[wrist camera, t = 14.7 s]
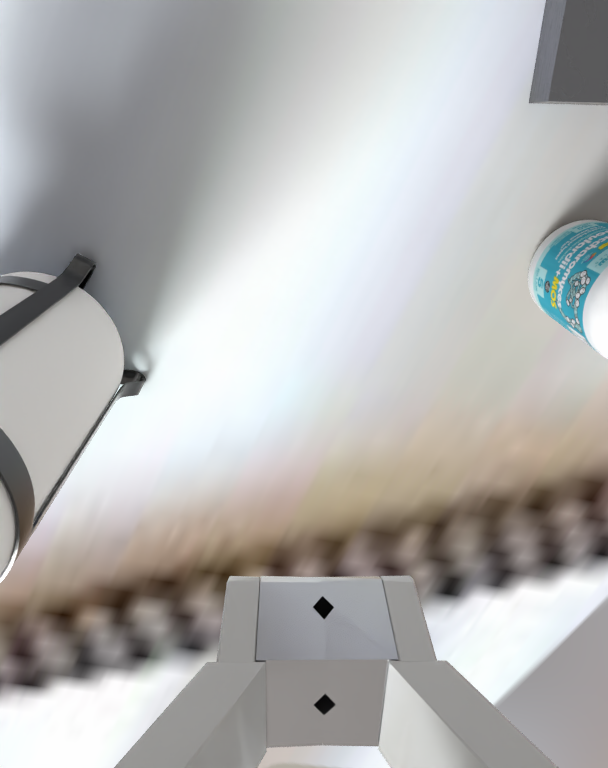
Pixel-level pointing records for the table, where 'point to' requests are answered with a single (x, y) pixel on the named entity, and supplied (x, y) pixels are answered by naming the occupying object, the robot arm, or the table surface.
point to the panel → (572, 54)
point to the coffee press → (51, 390)
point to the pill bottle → (574, 280)
